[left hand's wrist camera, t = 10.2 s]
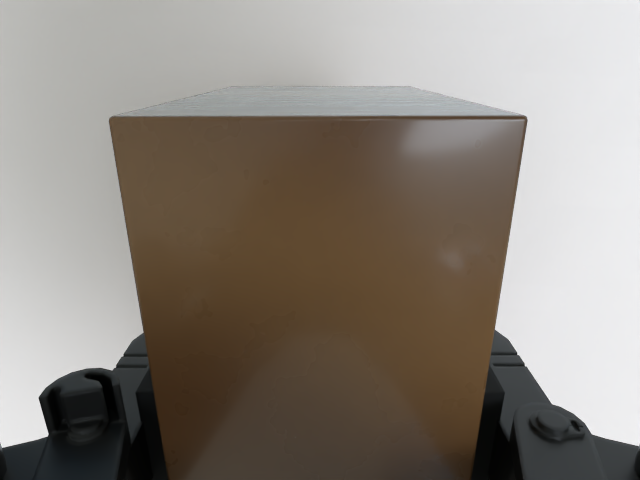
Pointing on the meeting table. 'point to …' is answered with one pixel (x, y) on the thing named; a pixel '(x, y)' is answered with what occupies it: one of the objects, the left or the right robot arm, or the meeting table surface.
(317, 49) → the meeting table surface
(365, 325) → the beam
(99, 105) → the meeting table surface
